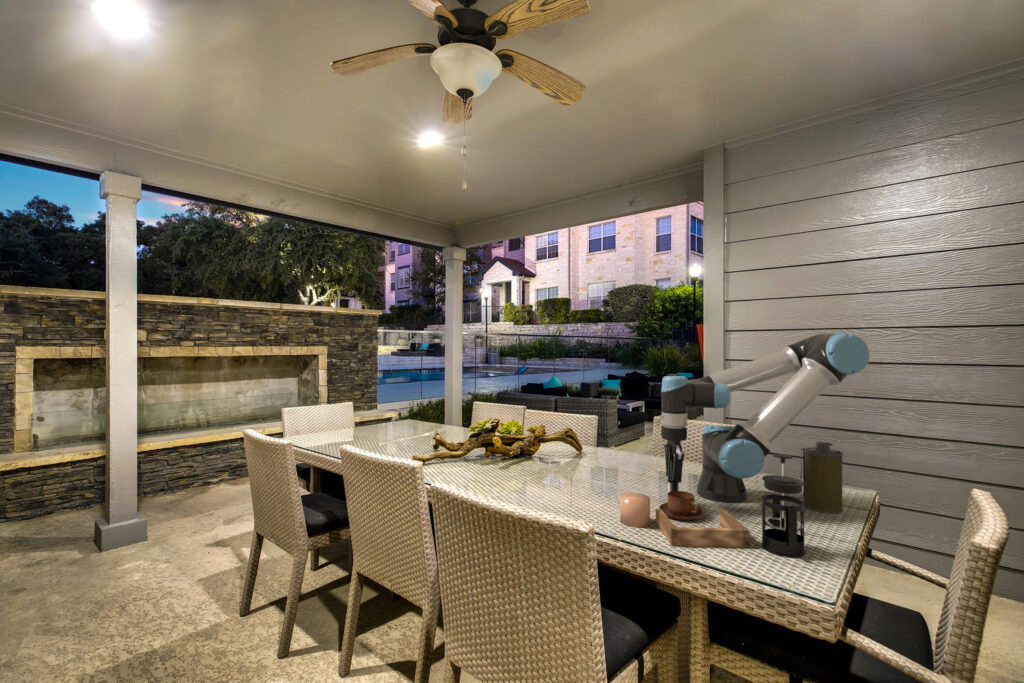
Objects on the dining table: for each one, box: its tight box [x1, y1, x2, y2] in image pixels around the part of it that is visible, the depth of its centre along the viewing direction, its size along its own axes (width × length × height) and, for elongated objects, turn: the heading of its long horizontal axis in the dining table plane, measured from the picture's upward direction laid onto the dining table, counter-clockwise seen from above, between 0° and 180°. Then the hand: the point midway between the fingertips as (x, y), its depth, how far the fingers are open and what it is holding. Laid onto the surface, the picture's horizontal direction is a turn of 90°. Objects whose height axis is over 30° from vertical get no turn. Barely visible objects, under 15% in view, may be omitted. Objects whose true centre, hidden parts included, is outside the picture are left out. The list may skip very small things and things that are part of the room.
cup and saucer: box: [658, 490, 704, 521], centre depth 139 cm, size 12×12×6 cm
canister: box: [800, 440, 844, 514], centre depth 146 cm, size 11×10×20 cm
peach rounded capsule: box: [619, 492, 651, 529], centre depth 133 cm, size 8×8×7 cm
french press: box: [760, 453, 806, 559], centre depth 115 cm, size 12×9×23 cm
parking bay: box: [655, 508, 750, 548], centre depth 125 cm, size 19×14×4 cm
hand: (673, 502), depth 146 cm, fingers closed
